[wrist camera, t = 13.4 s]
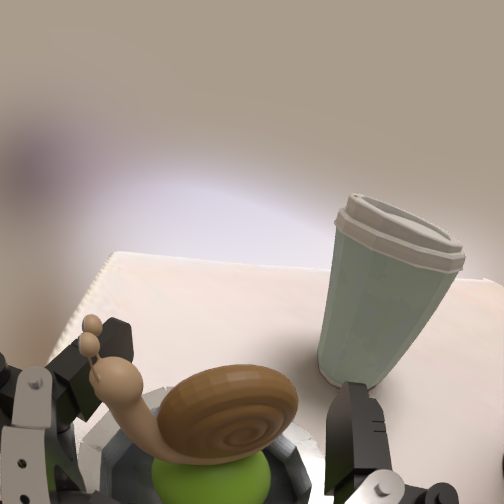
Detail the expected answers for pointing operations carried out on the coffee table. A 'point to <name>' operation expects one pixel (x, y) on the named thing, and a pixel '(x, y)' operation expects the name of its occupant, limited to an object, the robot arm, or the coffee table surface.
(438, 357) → the coffee table surface
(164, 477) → the snail figurine
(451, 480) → the coffee table surface
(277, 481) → the collar base
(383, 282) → the disposable coffee cup
